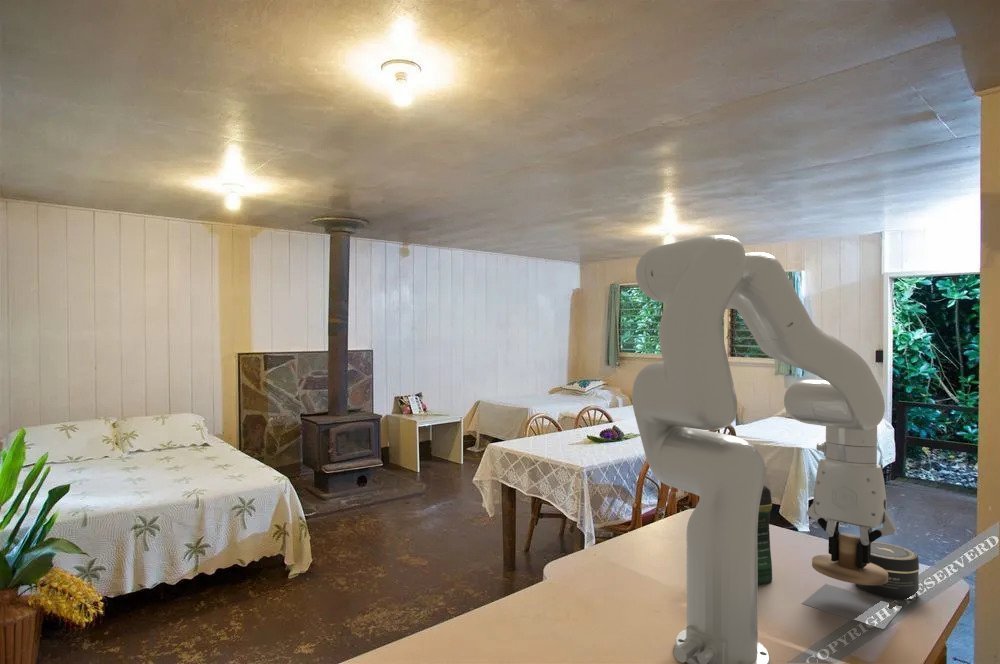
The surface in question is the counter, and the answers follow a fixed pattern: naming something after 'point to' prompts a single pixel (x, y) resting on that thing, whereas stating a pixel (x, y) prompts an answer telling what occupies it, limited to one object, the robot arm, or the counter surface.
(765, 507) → the coffee jar
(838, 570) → the lid
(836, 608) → the mat
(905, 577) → the jar
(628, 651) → the counter surface
